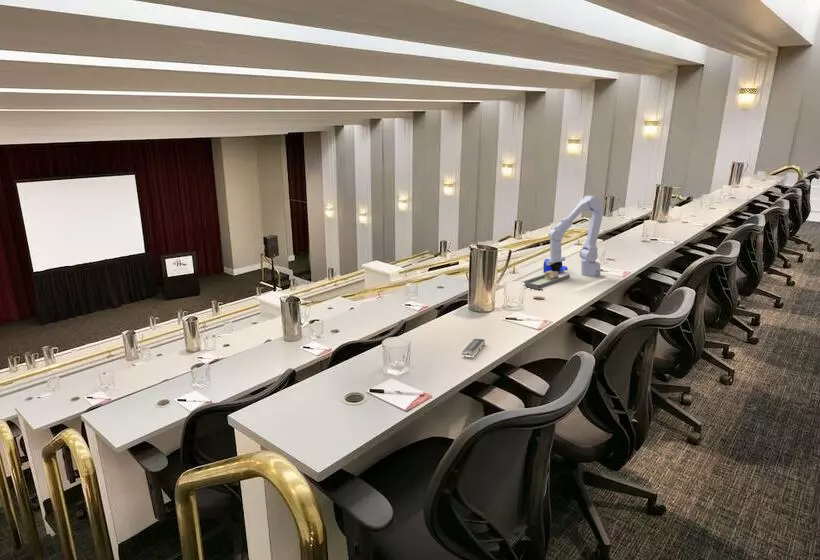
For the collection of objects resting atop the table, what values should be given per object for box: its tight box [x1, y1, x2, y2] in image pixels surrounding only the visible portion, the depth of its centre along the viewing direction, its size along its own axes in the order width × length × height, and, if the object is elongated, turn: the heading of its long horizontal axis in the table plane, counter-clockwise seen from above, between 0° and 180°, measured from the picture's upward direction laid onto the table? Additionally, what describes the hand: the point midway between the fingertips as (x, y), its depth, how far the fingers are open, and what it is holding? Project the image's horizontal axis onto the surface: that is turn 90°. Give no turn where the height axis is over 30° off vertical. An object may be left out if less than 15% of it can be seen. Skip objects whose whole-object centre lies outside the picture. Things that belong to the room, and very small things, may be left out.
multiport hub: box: [461, 338, 486, 356], centre depth 196 cm, size 4×14×2 cm, turn 154°
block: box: [544, 270, 559, 280], centre depth 282 cm, size 5×5×4 cm
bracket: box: [543, 258, 568, 274], centre depth 301 cm, size 18×8×9 cm, turn 143°
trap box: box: [522, 273, 571, 292], centre depth 279 cm, size 12×27×3 cm, turn 130°
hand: (555, 275), depth 285 cm, fingers closed
